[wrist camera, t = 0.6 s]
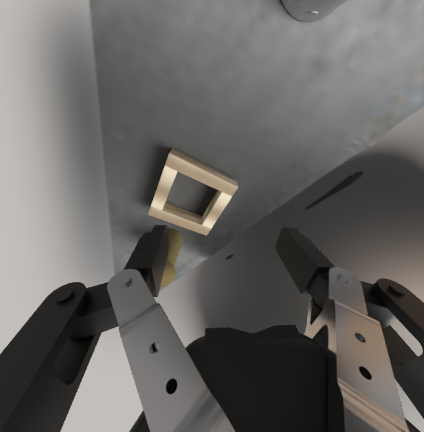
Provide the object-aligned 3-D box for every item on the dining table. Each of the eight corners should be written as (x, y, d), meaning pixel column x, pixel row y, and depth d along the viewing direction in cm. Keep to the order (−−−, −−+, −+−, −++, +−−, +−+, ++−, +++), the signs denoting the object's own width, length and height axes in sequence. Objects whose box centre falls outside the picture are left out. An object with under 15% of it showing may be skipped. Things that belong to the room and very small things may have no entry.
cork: (153, 243, 37) (137, 287, 28) (161, 225, 34) (145, 267, 25) (177, 250, 39) (169, 294, 30) (187, 234, 36) (181, 277, 27)
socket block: (172, 148, 25) (169, 153, 23) (235, 180, 29) (238, 186, 26) (152, 206, 31) (147, 214, 29) (206, 226, 35) (206, 235, 32)
